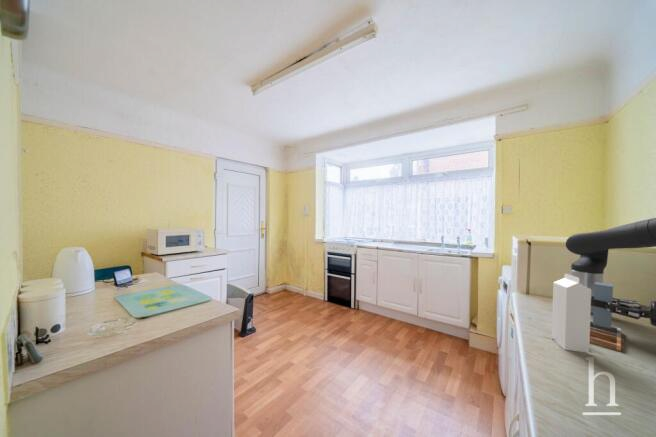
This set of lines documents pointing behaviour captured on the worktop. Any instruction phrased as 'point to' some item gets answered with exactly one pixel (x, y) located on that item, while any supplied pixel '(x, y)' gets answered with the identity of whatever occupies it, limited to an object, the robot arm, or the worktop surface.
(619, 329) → the socket board
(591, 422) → the worktop surface
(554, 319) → the milk
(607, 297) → the post
